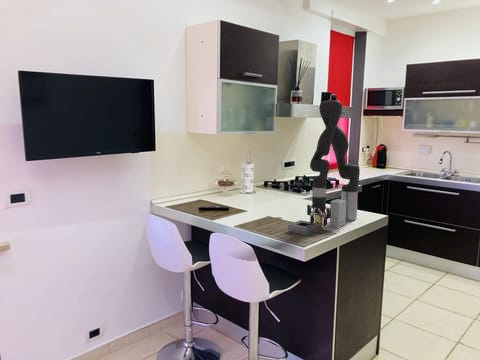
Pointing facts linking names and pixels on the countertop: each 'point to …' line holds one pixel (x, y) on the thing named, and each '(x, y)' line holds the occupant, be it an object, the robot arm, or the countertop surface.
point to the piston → (319, 220)
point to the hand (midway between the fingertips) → (318, 224)
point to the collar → (303, 228)
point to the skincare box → (338, 213)
